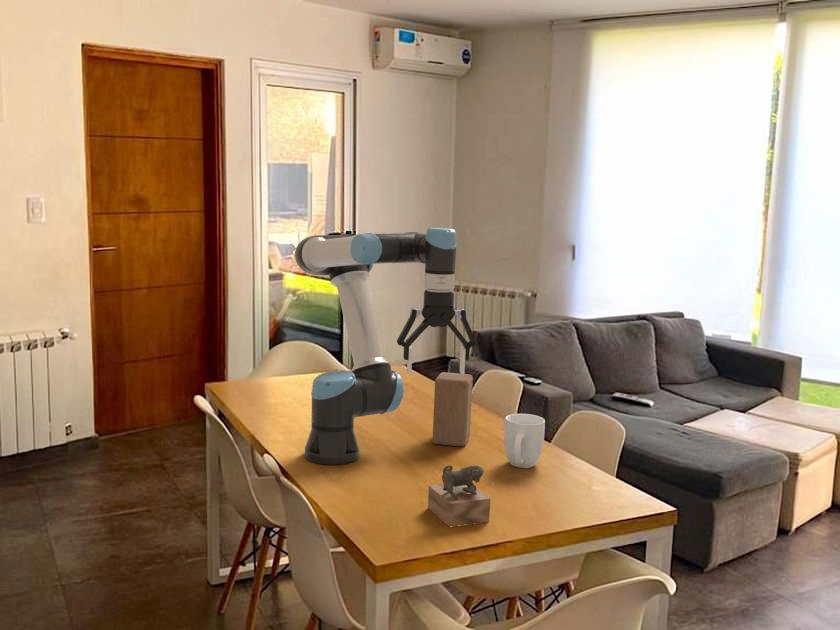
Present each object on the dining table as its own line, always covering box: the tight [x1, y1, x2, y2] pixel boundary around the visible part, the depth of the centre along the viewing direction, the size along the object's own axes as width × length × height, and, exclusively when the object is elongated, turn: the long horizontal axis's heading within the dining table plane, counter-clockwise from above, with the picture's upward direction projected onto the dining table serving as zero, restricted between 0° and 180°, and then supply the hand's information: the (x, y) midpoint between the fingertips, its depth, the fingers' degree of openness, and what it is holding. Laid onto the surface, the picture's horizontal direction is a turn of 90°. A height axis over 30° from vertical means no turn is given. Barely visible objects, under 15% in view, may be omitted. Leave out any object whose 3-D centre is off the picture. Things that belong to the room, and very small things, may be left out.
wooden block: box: [431, 371, 473, 447], centre depth 255 cm, size 10×10×20 cm
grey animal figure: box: [441, 464, 485, 499], centre depth 199 cm, size 12×6×7 cm, turn 124°
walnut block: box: [427, 483, 491, 527], centre depth 200 cm, size 10×12×6 cm
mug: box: [503, 413, 546, 469], centre depth 235 cm, size 15×11×13 cm
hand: (435, 372), depth 218 cm, fingers open, 13 cm apart
